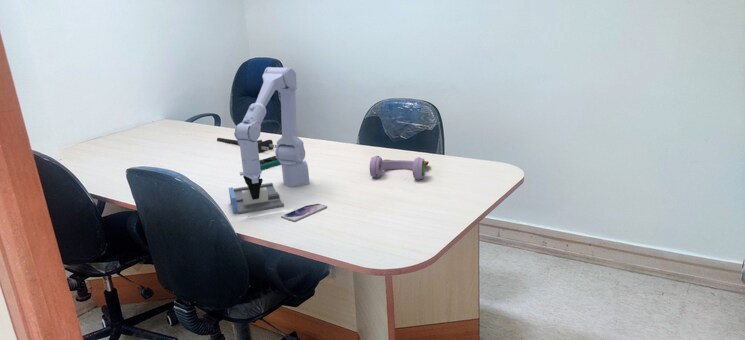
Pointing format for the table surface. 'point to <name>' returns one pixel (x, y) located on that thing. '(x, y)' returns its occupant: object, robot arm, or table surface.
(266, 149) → the electrical plug
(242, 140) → the robot arm
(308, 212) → the smartphone
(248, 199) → the light grey long block
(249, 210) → the board
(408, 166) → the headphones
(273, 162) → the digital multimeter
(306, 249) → the table surface
